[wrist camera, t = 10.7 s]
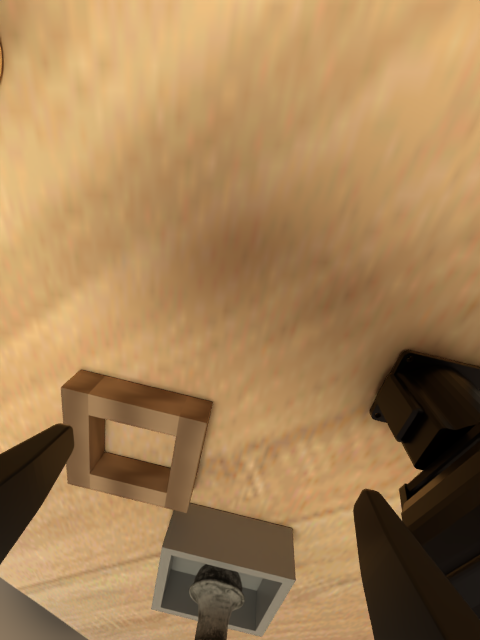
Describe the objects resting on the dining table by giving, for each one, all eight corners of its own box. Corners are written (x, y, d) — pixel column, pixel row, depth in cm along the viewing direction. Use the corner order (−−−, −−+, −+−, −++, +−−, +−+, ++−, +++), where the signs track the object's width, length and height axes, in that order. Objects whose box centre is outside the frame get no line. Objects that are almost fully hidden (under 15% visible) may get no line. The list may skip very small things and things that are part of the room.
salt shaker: (250, 546, 30) (239, 740, 19) (244, 574, 33) (230, 761, 22) (198, 536, 31) (158, 723, 20) (195, 564, 33) (158, 745, 22)
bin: (292, 528, 30) (295, 580, 26) (262, 586, 35) (261, 636, 31) (176, 499, 30) (162, 547, 26) (165, 561, 35) (151, 609, 31)
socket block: (212, 402, 24) (206, 423, 22) (193, 488, 29) (186, 513, 27) (80, 369, 24) (60, 387, 22) (83, 461, 29) (67, 483, 27)
